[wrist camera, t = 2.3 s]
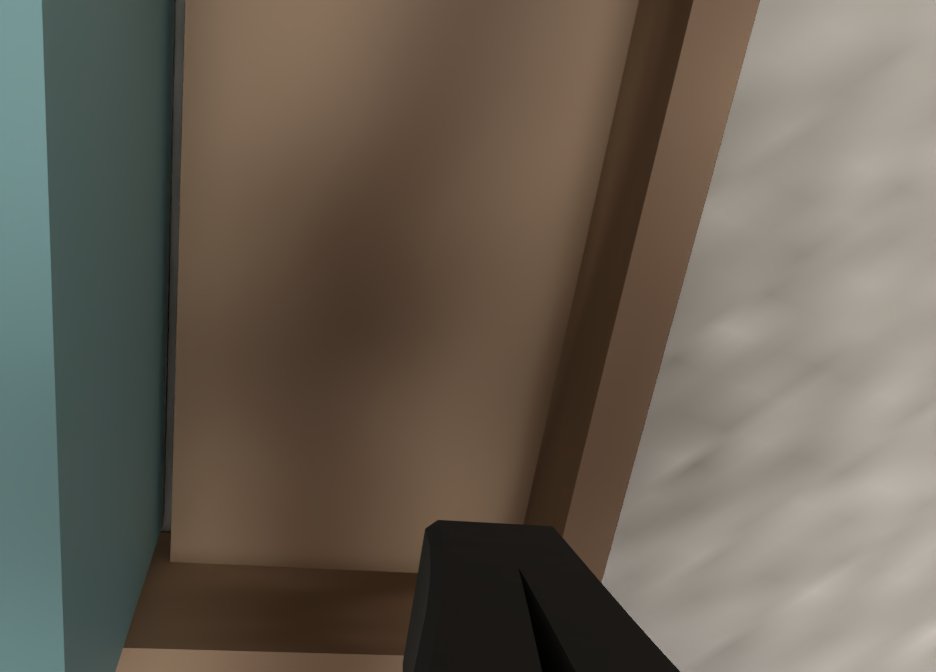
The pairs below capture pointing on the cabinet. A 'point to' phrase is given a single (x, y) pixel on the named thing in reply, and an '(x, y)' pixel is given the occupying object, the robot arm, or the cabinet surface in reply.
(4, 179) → the panel
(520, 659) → the robot arm
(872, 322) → the cabinet surface
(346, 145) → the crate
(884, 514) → the cabinet surface
